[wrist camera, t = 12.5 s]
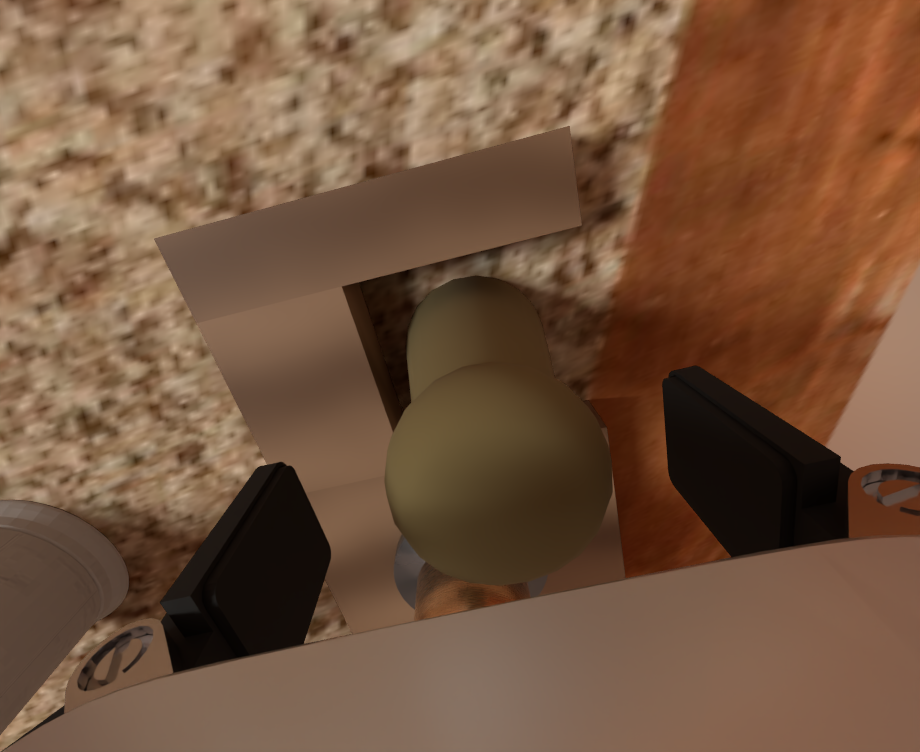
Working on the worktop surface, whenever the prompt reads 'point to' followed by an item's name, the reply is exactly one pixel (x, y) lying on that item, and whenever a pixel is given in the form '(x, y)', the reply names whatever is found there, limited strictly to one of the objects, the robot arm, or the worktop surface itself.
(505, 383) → the cork
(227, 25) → the worktop surface
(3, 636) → the glass holder
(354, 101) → the worktop surface
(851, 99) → the worktop surface
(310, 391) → the notched board
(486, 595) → the bobbin
